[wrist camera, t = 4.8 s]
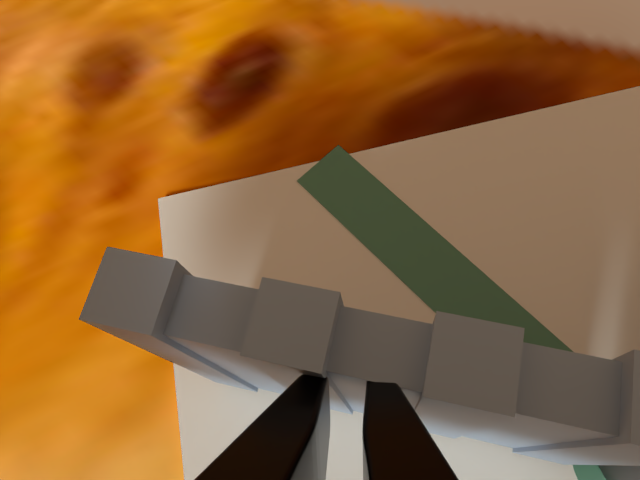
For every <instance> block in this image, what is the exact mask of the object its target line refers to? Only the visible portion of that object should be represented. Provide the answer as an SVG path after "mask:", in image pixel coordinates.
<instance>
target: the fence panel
mask: <svg viewBox="0 0 640 480" xmlns="http://www.w3.org/2000/svg"><path fill="white" fill-rule="evenodd" d="M79 320H82V321H84V322H86V323H88V324H90V325H92V326H95V327H97V328H99V329H101V330H103V331H105V332H108V333H110V334H112V335H114V336H116V337H118V338H121V339H123V340H125V341H127V342H129V343H131V344H134V345H136V346H138V347H140V348H142V349H144V350H147V351H149V352H151V353H153V354H155V355H157V356H160V357H162V358H164V359H166V360H168V361H171V362H173V363H175V364H177V365H179V366H181V367H184V368H186V369H188V370H190V371H192V372H194V373H197V374H199V375H201V376H203V377H205V378H207V379H210V380H212V381H214V382H217V383H221V384H225V385H229V386H234V387H238V388H242V389H246V390H250V391H255V392H257V391H258V388H259V389H263V390H267V391H272V392H276V393H280V394H282V393H283V392H284V391H285V390H286V389H287V388H288V387H289V386H290V385H291V384H292V383H293V382H294V381H295V380H296V379H297V378H298V377H299V376H300V375H302V374H305V375H310V376H316V377H321V378H326V377H327V378H328V380H329V396H330V409H331V410H335V411H339V412H343V413H348V414H352V415H353V411H357V412H361V413H364V403H365V392H366V382H367V381H373V382H389V383H397V384H398V385H399V386H400V388H401V389H402V391H403V393H404V394H405V396H406V397H407V399H408V401H409V402H410V404H411V405H412V407H413V408H414V410H415V412H416V413H417V415H418V416H419V418H420V419H421V421H422V423H423V424H424V426H425V427H426V429H427V430H428V432H429V433H432V434H436V435H441V436H445V437H449V438H453V439H455V438H458V437H461V436H463V437H467V438H471V439H476V440H480V441H484V442H488V443H493V444H497V445H501V446H505V447H510V448H513V451H512V453H517V454H521V455H525V456H529V457H534V458H538V459H542V460H546V461H550V462H555V463H559V464H563V465H619V466H640V350H635V349H634V350H632V351H630V352H628V353H625V354H623V355H621V356H619V357H617V358H614V359H612V360H610V359H605V358H600V357H595V356H590V355H585V354H580V353H575V352H570V351H565V350H560V349H555V348H550V347H545V346H540V345H535V344H530V343H525V342H523V339H524V330H525V328H522V327H517V326H512V325H506V324H501V323H496V322H491V321H486V320H481V319H476V318H471V317H465V316H460V315H455V314H450V313H445V312H440V311H436V314H435V318H434V321H433V324H430V323H425V322H420V321H415V320H410V319H405V318H400V317H395V316H390V315H385V314H380V313H375V312H370V311H365V310H360V309H355V308H350V307H345V306H344V304H343V300H342V297H341V293H340V292H337V291H332V290H327V289H322V288H317V287H312V286H306V285H301V284H296V283H291V282H286V281H281V280H276V279H271V278H265V277H262V279H261V283H260V287H259V289H255V288H250V287H245V286H240V285H235V284H230V283H225V282H220V281H215V280H210V279H205V278H200V277H195V276H193V275H192V274H191V273H189V272H188V271H187V270H186V269H185V268H184V267H183V266H182V265H181V264H180V263H179V262H178V261H177V260H173V259H168V258H163V257H158V256H153V255H147V254H142V253H137V252H132V251H127V250H122V249H117V248H112V247H107V248H106V251H105V253H104V256H103V259H102V261H101V264H100V266H99V269H98V271H97V274H96V277H95V279H94V282H93V284H92V287H91V289H90V292H89V295H88V297H87V300H86V302H85V305H84V307H83V310H82V312H81V315H80V318H79Z"/></svg>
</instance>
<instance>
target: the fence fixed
mask: <svg viewBox="0 0 640 480" xmlns="http://www.w3.org/2000/svg"><path fill="white" fill-rule="evenodd" d="M599 467H600V469H601V472H602V473H603V475H604V477H605V478H606V480H640V466H619V465H599Z"/></svg>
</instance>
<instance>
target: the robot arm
mask: <svg viewBox="0 0 640 480" xmlns="http://www.w3.org/2000/svg"><path fill="white" fill-rule="evenodd" d="M329 438H330V396H329V380H328V378H327V377H326V378H321V377H316V376H310V375H305V374H302V375H300V376H299V377H298V378H297V379H296V380H295V381H294V382H293V383H292V384H291V385H290V386H289V387H288V388H287V389H286V390H285V391H284V392H283V393H282V394H281V395H280V396H279V397H278V398H277V399H276V400H275V401H274V402H273V403H272V404H271V405H270V406H269V407H268V408H267V409H266V410H264V411H263V412H262V413H261V414H260V415H259V416H258V417H257V418H256V419H255V420H254V421H253V422H252V423H251V424H250V425H249V426H248V427H247V428H246V429H245V430H244V431H243V432H242V433H241V434H240V435H239V436H238V437H237V438H236V439H235V440H234V441H233V442H232V443H231V444H230V445H229V446H228V447H227V448H226V449H225V450H224V451H223V452H222V453H221V454H220V455H219V456H218V457H217V458H216V459H215V460H214V461H213V462H212V463H211V464H210V465H209V466H208V467H207V468H206V469H204V470H203V471H202V472H201V473H200V474H199V475H198V476H197V477H196V478H195V479H194V480H326V471H327V460H328V449H329ZM362 441H363V480H459V479H458V478H457V476H456V474H455V473H454V471H453V470H452V468H451V467H450V465H449V463H448V462H447V460H446V459H445V457H444V456H443V454H442V452H441V451H440V449H439V448H438V446H437V445H436V443H435V441H434V440H433V438H432V437H431V435H430V434H429V432H428V430H427V429H426V427H425V426H424V424H423V423H422V421H421V419H420V418H419V416H418V415H417V413H416V412H415V410H414V408H413V407H412V405H411V404H410V402H409V401H408V399H407V397H406V396H405V394H404V393H403V391H402V389H401V388H400V386H399V385H398V384H397V383H389V382H373V381H367V382H366V392H365V403H364V413H363V427H362Z"/></svg>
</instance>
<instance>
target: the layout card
mask: <svg viewBox="0 0 640 480" xmlns="http://www.w3.org/2000/svg"><path fill="white" fill-rule="evenodd" d="M158 204H159V215H160V226H161V236H162V247H163V257H164V258H168V259H173V260H177V261H178V262H179V263H180V264H181V265H182V266H183V267H184V268H185V269H186V270H187V271H188V272H189V273H191V274H192V275H193V276H195V277H200V278H205V279H210V280H215V281H220V282H225V283H230V284H235V285H240V286H245V287H250V288H255V289H259V287H260V283H261V279H262V277H265V278H271V279H276V280H281V281H286V282H291V283H296V284H301V285H306V286H312V287H317V288H322V289H327V290H332V291H337V292H340V293H341V297H342V300H343V304H344V306H345V307H350V308H355V309H360V310H365V311H370V312H375V313H380V314H385V315H390V316H395V317H400V318H405V319H410V320H415V321H420V322H425V323H430V324H433V321H434V318H435V314H436V311H440V312H445V313H450V314H455V315H460V316H465V317H471V318H476V319H481V320H486V321H491V322H496V323H501V324H506V325H512V326H517V327H522V328H525V330H524V339H523V342H525V343H530V344H535V345H540V346H545V347H550V348H555V349H560V350H565V351H570V352H575V353H580V354H585V355H590V356H595V357H600V358H605V359H610V360H612V359H614V358H617V357H619V356H621V355H623V354H625V353H628V352H630V351H632V350H634V349H635V350H640V86H637V87H633V88H629V89H625V90H620V91H616V92H612V93H608V94H603V95H599V96H595V97H590V98H586V99H582V100H578V101H573V102H569V103H565V104H560V105H556V106H552V107H548V108H543V109H539V110H535V111H530V112H526V113H522V114H518V115H513V116H509V117H505V118H501V119H496V120H492V121H488V122H483V123H479V124H475V125H471V126H466V127H462V128H458V129H453V130H449V131H445V132H441V133H436V134H432V135H428V136H423V137H419V138H415V139H411V140H406V141H402V142H398V143H393V144H389V145H385V146H381V147H376V148H372V149H368V150H364V151H359V152H355V153H351V154H348V153H347V152H346V151H345V150H344V149H343V148H342V147H340V146H339V145H338V146H336V147H335V148H334V149H333V150H332V151H331V152H329V153H328V154H327V155H326V156H325V157H324V158H322V159H321V160H320V161H316V162H312V163H308V164H304V165H299V166H295V167H291V168H286V169H282V170H278V171H274V172H269V173H265V174H261V175H257V176H252V177H248V178H244V179H239V180H235V181H231V182H227V183H222V184H218V185H214V186H209V187H205V188H201V189H197V190H192V191H188V192H184V193H179V194H175V195H171V196H167V197H162V198H158ZM173 364H174V375H175V385H176V396H177V406H178V417H179V428H180V438H181V449H182V460H183V470H184V480H194V479H195V478H196V477H197V476H198V475H199V474H200V473H201V472H202V471H203V470H204V469H206V468H207V467H208V466H209V465H210V464H211V463H212V462H213V461H214V460H215V459H216V458H217V457H218V456H219V455H220V454H221V453H222V452H223V451H224V450H225V449H226V448H227V447H228V446H229V445H230V444H231V443H232V442H233V441H234V440H235V439H236V438H237V437H238V436H239V435H240V434H241V433H242V432H243V431H244V430H245V429H246V428H247V427H248V426H249V425H250V424H251V423H252V422H253V421H254V420H255V419H256V418H257V417H258V416H259V415H260V414H261V413H262V412H263V411H264V410H266V409H267V408H268V407H269V406H270V405H271V404H272V403H273V402H274V401H275V400H276V399H277V398H278V397H279V396H280V395H281V394H280V393H276V392H272V391H267V390H263V389H259V388H258V391H257V392H255V391H250V390H246V389H242V388H238V387H234V386H229V385H225V384H221V383H217V382H214V381H212V380H210V379H207V378H205V377H203V376H201V375H199V374H197V373H194V372H192V371H190V370H188V369H186V368H184V367H181V366H179V365H177V364H175V363H173ZM362 427H363V413H361V412H357V411H353V415H352V414H348V413H343V412H339V411H335V410H331V409H330V438H329V449H328V460H327V471H326V480H363V441H362ZM429 434H430V435H431V437H432V438H433V440H434V441H435V443H436V445H437V446H438V448H439V449H440V451H441V452H442V454H443V456H444V457H445V459H446V460H447V462H448V463H449V465H450V467H451V468H452V470H453V471H454V473H455V474H456V476H457V478H458V479H459V480H606V478H605V477H604V475H603V473H602V472H601V469H600V467H599V465H563V464H559V463H555V462H550V461H546V460H542V459H538V458H534V457H529V456H525V455H521V454H517V453H512V451H513V448H510V447H505V446H501V445H497V444H493V443H488V442H484V441H480V440H476V439H471V438H467V437H463V436H461V437H458V438H455V439H453V438H449V437H445V436H441V435H436V434H432V433H429Z"/></svg>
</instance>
